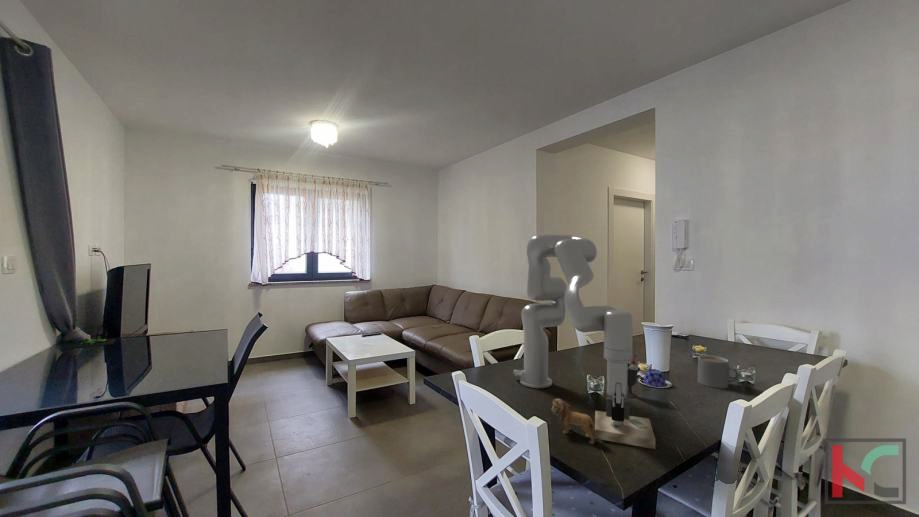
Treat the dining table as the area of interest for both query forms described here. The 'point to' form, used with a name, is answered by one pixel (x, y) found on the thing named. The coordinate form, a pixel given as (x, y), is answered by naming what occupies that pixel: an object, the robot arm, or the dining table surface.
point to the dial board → (625, 430)
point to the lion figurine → (573, 418)
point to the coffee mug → (715, 371)
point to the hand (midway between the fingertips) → (617, 417)
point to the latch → (609, 409)
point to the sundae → (632, 377)
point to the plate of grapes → (655, 379)
